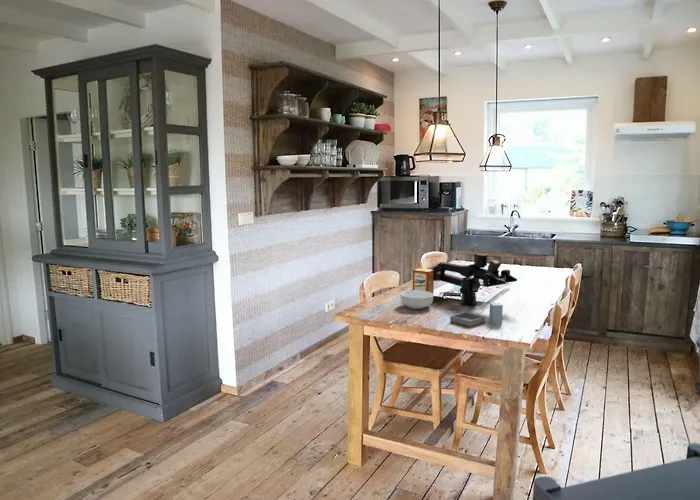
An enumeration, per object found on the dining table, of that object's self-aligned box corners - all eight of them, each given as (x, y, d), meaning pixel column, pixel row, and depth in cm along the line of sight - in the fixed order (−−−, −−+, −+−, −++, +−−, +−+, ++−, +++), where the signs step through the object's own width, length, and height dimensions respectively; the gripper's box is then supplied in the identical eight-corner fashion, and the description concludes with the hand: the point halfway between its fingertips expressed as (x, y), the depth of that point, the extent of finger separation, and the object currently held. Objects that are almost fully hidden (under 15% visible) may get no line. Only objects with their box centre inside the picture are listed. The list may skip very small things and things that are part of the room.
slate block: (489, 321, 247) (489, 303, 246) (498, 321, 248) (499, 302, 247) (492, 324, 243) (493, 305, 242) (501, 324, 244) (502, 305, 243)
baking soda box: (412, 297, 293) (412, 269, 290) (418, 295, 298) (418, 267, 295) (427, 300, 287) (428, 271, 285) (433, 297, 292) (433, 269, 290)
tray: (450, 322, 247) (450, 315, 246) (465, 317, 254) (465, 311, 254) (470, 327, 238) (470, 321, 238) (484, 322, 246) (485, 316, 245)
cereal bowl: (405, 312, 264) (406, 298, 262) (396, 303, 280) (396, 290, 279) (438, 310, 267) (438, 296, 266) (426, 302, 283) (427, 289, 282)
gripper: (474, 261, 261) (501, 267, 249) (497, 257, 273) (523, 263, 261) (472, 283, 263) (499, 290, 251) (495, 278, 275) (521, 284, 263)
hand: (511, 281), depth 257 cm, fingers open, 9 cm apart
